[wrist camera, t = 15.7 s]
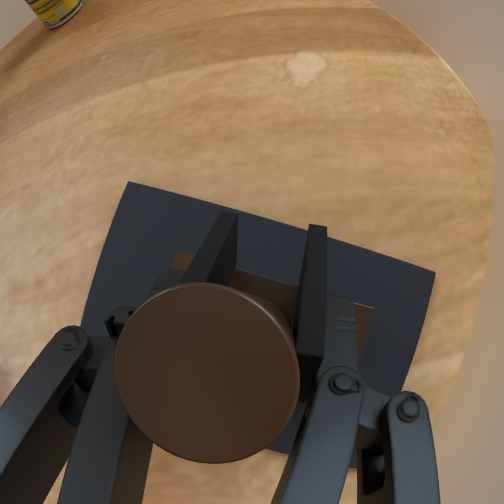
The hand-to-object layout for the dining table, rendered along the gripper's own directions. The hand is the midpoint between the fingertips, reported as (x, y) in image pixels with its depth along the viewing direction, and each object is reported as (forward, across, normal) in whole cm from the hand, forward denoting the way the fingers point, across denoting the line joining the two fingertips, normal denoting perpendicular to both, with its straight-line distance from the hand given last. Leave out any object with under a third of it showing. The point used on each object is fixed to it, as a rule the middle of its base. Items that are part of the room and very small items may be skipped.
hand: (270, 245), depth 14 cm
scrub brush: (+1, 0, -6) cm, 6 cm away
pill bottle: (+26, -35, +18) cm, 47 cm away
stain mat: (+1, -1, -7) cm, 7 cm away
